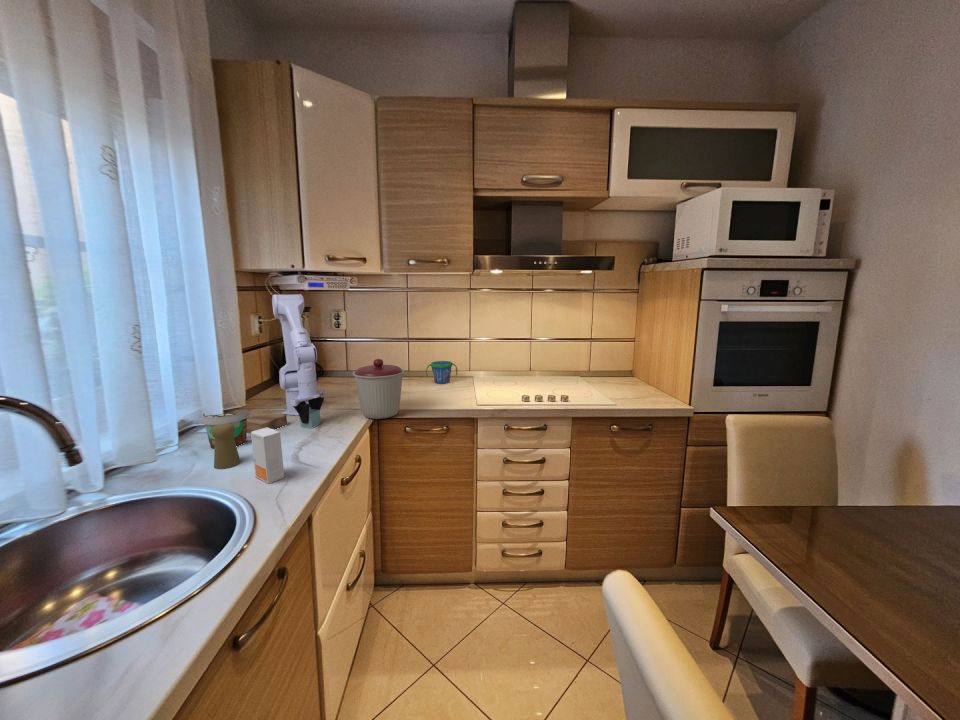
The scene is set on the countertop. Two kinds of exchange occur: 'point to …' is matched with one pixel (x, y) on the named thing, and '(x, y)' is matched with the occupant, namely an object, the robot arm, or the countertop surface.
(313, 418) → the teal block
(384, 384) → the canister
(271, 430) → the skincare box
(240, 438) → the food container
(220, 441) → the cork
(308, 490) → the countertop surface
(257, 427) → the walnut block
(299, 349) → the robot arm
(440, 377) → the snack cup
